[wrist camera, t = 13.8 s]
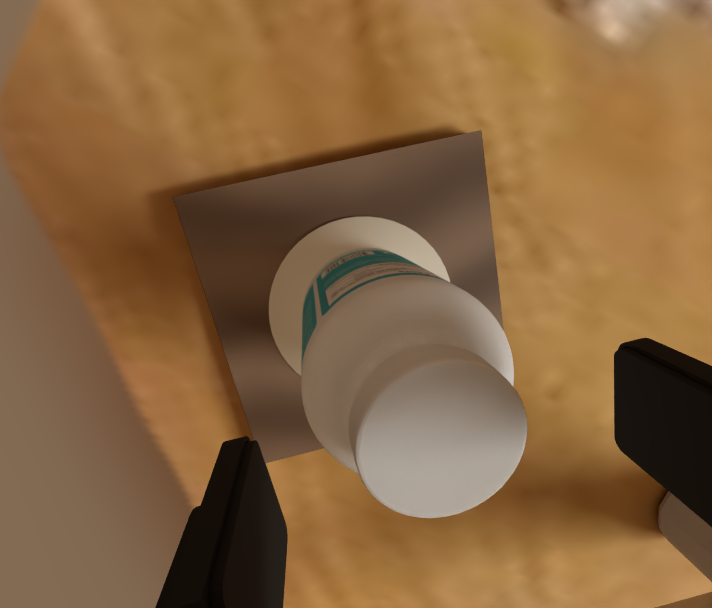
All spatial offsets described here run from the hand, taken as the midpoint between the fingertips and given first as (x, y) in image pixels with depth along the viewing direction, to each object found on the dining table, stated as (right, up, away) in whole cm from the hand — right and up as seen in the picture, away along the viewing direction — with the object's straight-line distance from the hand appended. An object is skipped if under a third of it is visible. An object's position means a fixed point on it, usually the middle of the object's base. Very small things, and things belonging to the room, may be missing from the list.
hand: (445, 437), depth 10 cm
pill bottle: (-2, +3, +13) cm, 14 cm away
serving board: (-2, +3, +15) cm, 15 cm away
